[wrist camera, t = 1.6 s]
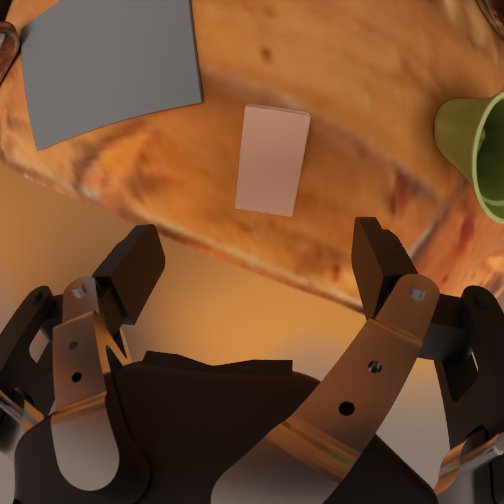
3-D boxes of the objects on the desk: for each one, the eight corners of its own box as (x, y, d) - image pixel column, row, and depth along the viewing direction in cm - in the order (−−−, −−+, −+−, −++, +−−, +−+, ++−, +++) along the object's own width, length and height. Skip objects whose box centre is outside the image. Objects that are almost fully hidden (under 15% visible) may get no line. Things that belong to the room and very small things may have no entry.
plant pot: (395, 129, 19) (448, 159, 12) (452, 59, 14) (518, 63, 7) (455, 197, 21) (503, 247, 14) (504, 134, 16) (563, 166, 9)
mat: (185, -53, 11) (183, -56, 10) (203, 102, 20) (201, 102, 19) (24, 29, 14) (21, 30, 13) (40, 149, 22) (37, 151, 22)
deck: (307, 112, 19) (310, 116, 17) (291, 201, 24) (291, 217, 22) (250, 103, 20) (245, 106, 17) (240, 193, 24) (234, 208, 22)
